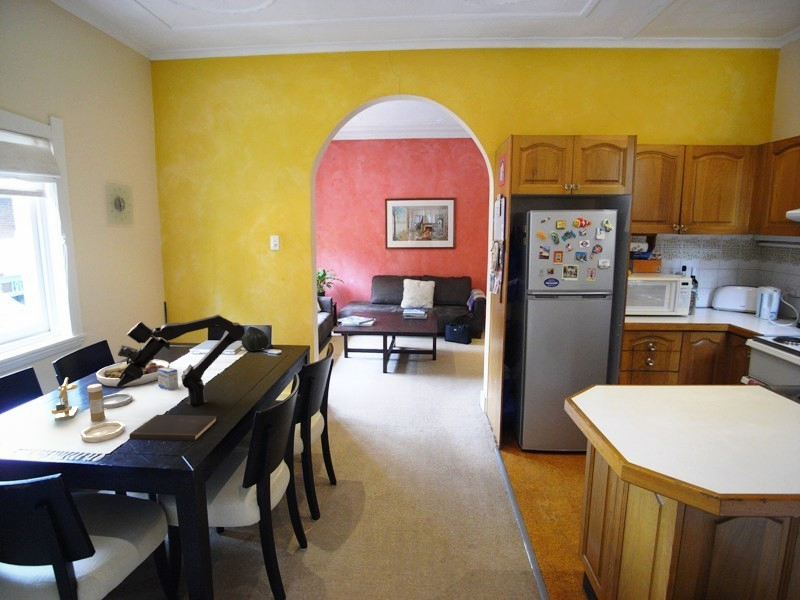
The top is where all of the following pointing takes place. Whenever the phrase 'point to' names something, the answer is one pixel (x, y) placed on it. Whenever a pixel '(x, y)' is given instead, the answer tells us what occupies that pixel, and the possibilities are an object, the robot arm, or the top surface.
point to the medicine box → (167, 378)
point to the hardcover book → (173, 427)
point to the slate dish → (116, 400)
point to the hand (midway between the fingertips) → (118, 382)
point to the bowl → (113, 372)
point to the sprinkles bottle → (96, 402)
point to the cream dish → (102, 431)
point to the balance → (65, 403)
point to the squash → (254, 339)
